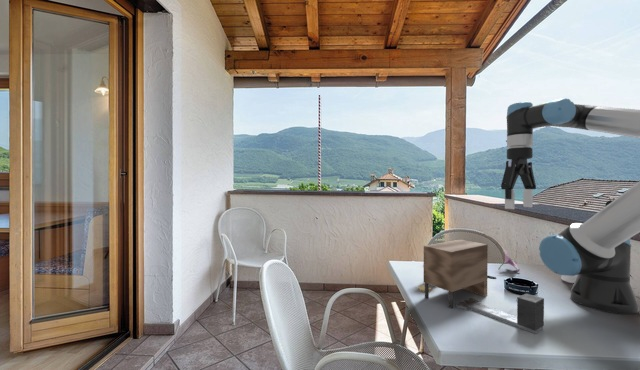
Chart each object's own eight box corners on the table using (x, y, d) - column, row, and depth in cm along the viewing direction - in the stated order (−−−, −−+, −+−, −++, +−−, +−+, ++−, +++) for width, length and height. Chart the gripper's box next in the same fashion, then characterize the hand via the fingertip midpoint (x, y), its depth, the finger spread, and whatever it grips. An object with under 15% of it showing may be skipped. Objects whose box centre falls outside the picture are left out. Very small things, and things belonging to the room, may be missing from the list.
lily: (510, 278, 117) (524, 259, 115) (483, 261, 126) (496, 242, 125) (520, 281, 124) (533, 263, 123) (494, 264, 133) (505, 247, 132)
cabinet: (487, 294, 97) (487, 244, 97) (451, 308, 87) (451, 252, 86) (459, 285, 106) (459, 239, 106) (423, 297, 95) (423, 245, 95)
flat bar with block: (546, 327, 75) (546, 297, 75) (532, 336, 71) (532, 304, 71) (471, 301, 92) (471, 276, 92) (456, 306, 88) (456, 280, 88)
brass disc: (433, 290, 102) (433, 287, 102) (427, 293, 99) (427, 290, 99) (422, 287, 105) (422, 284, 105) (416, 290, 102) (416, 286, 102)
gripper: (523, 150, 112) (523, 205, 112) (489, 146, 99) (489, 208, 99) (547, 148, 106) (546, 207, 106) (513, 144, 92) (513, 210, 93)
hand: (519, 208), depth 102 cm, fingers open, 13 cm apart
